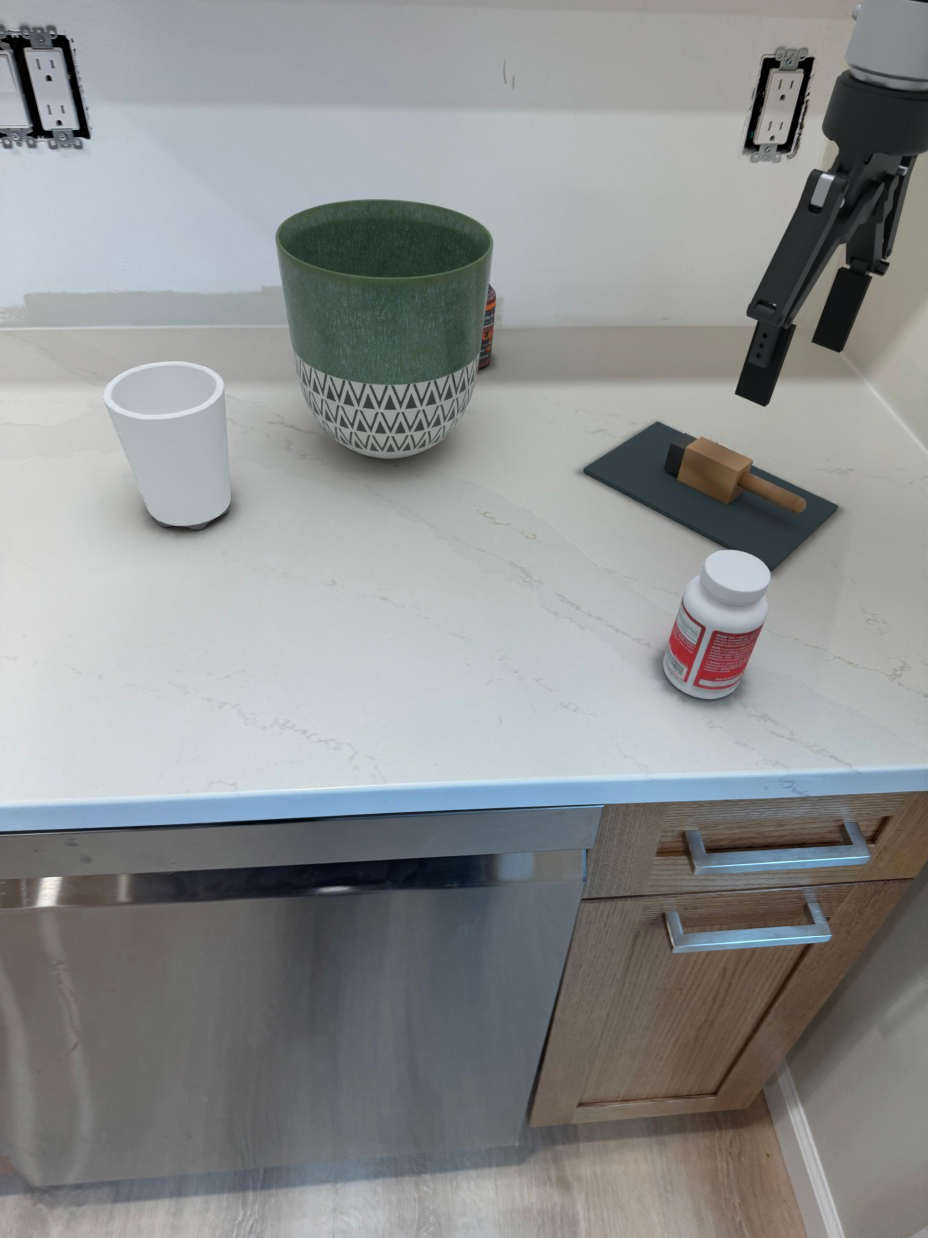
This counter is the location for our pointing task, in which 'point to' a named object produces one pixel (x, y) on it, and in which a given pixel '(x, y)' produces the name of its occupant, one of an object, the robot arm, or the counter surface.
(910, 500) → the counter surface
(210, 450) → the cup
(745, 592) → the pill bottle
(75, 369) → the counter surface
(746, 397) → the robot arm
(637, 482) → the mat
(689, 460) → the scrub brush
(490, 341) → the supplement bottle
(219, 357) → the counter surface
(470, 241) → the planter
